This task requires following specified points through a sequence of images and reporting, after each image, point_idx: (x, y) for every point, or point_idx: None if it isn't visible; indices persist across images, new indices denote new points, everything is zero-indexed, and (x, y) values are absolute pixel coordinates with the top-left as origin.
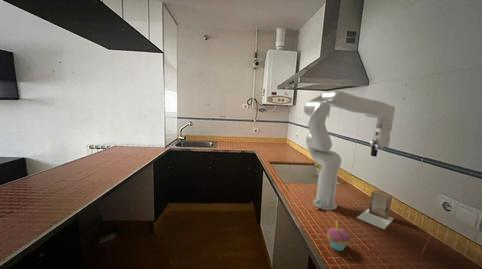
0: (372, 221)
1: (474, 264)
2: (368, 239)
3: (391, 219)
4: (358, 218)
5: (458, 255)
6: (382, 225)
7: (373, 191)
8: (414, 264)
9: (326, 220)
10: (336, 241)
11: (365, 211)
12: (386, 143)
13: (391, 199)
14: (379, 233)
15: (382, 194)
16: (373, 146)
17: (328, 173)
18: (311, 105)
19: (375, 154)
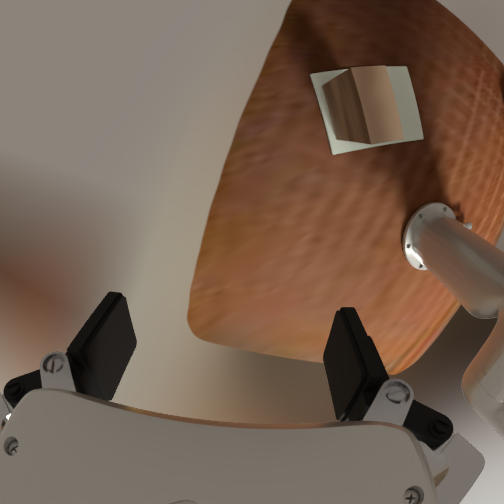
0: (401, 101)
1: None
2: (465, 80)
3: (327, 74)
4: (422, 133)
5: None
6: (393, 75)
7: (394, 136)
8: (445, 7)
9: (481, 175)
10: None
11: (362, 146)
12: (183, 499)
13: (345, 71)
14: (427, 69)
15: (388, 96)
16: (446, 419)
17: None
18: None
19: (359, 330)
